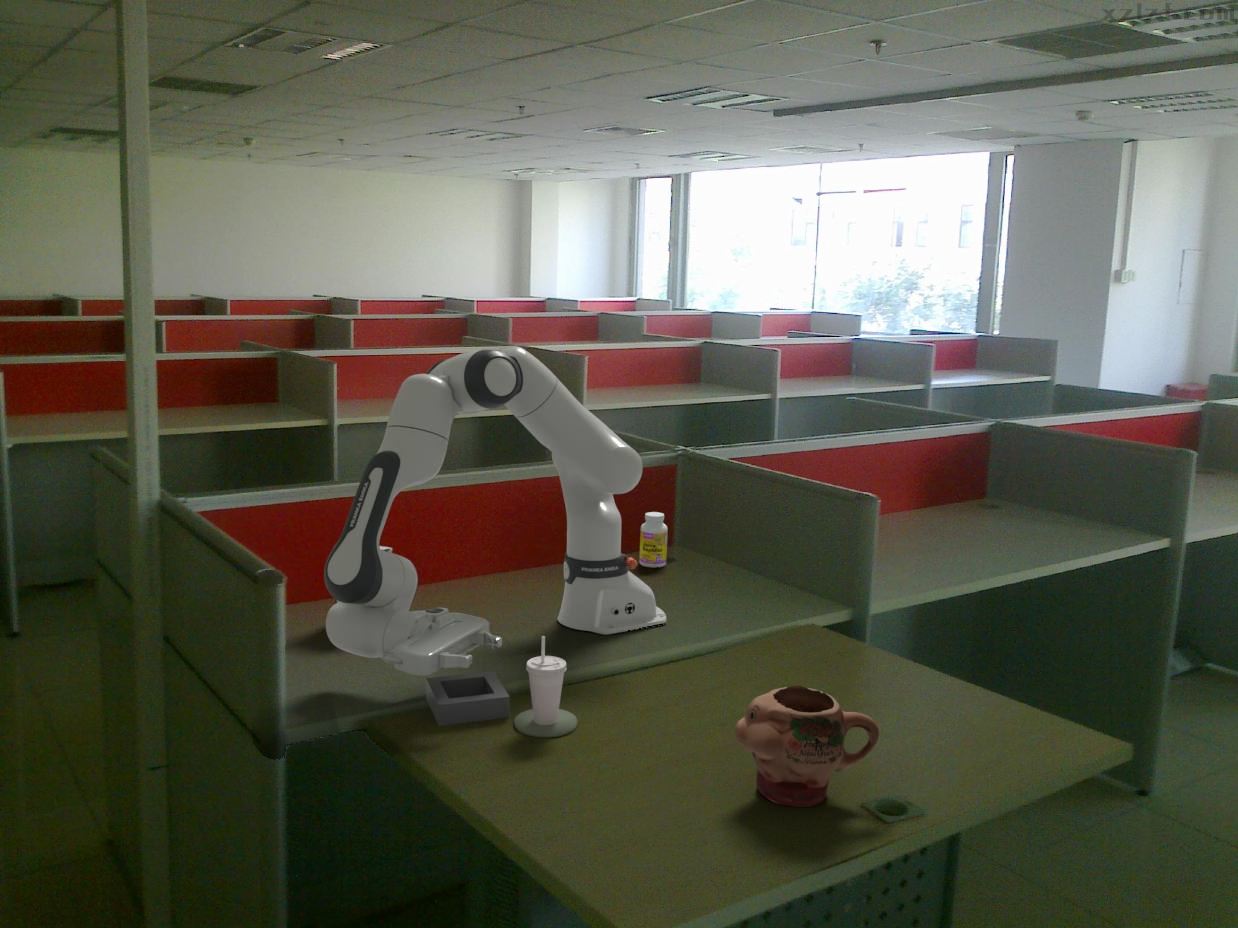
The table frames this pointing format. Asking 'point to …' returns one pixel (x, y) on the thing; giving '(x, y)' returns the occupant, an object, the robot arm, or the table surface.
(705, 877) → the table surface
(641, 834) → the table surface
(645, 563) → the supplement bottle
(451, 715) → the socket collar
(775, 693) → the cartoon character mug
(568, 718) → the rubber pad
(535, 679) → the smoothie
